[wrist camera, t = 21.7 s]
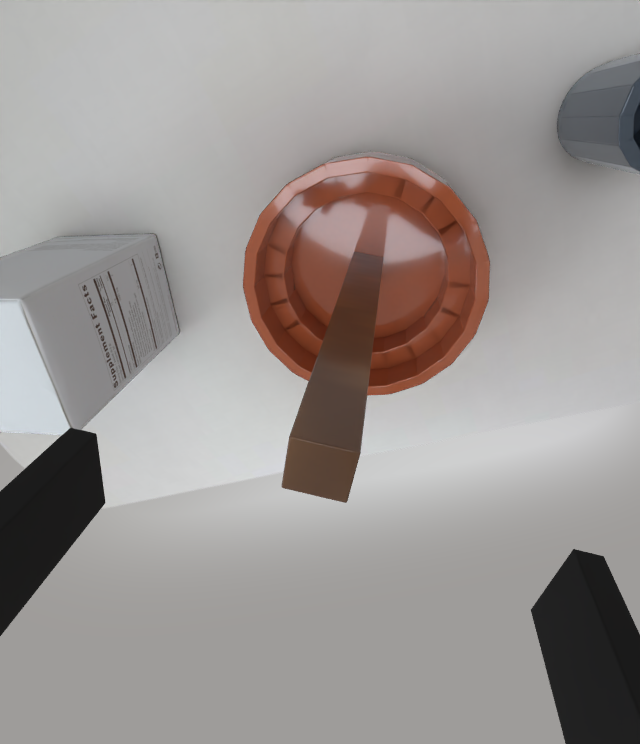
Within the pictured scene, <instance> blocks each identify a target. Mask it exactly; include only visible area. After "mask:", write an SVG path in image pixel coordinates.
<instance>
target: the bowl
mask: <svg viewBox="0 0 640 744" xmlns="http://www.w3.org/2000/svg"><path fill="white" fill-rule="evenodd" d="M354 252H360V253H365V254H370V255H374V256H379V257H383V266H382V274H381V283H380V291H379V300H378V308H377V316H376V325H375V333H374V342H373V350H372V359H371V367H370V375H369V384H368V392H367V395H385V394H393V393H396V392H399V391H402V390H405V389H408V388H411V387H414V386H417V385H420V384H422V383H425V382H426V381H427V380H429V379H430V378H432V377H433V376H435V375H436V374H438V373H439V372H441V371H442V370H444V369H445V368H447V367H448V366H450V365H451V364H452V363H453V362H454V361H455V359H456V358H457V357H458V356H459V354H460V353H461V352H462V351H463V350H464V348H465V347H466V346H467V345H468V343H469V342H470V341H471V340H472V338H473V337H474V335H475V334H476V332H477V329H478V327H479V324H480V321H481V319H482V316H483V314H484V311H485V308H486V306H487V303H488V299H489V274H490V261H489V256H488V253H487V250H486V247H485V244H484V241H483V238H482V235H481V232H480V229H479V226H478V223H477V220H476V219H475V218H474V216H473V215H472V214H471V213H470V211H469V210H468V209H467V207H466V206H465V205H464V204H463V202H462V201H461V200H460V199H459V197H458V196H457V195H456V194H455V192H454V191H453V190H452V189H451V187H450V186H449V185H448V184H447V182H446V181H445V180H444V179H443V178H442V177H441V176H440V175H438V174H436V173H435V172H433V171H431V170H430V169H428V168H426V167H425V166H423V165H421V164H420V163H418V162H416V161H415V160H413V159H411V158H408V157H403V156H398V155H392V154H387V153H382V152H377V151H369V152H363V153H356V154H350V155H344V156H338V157H335V158H333V159H331V160H329V161H327V162H326V163H324V164H322V165H320V166H318V167H316V168H315V169H313V170H311V171H309V172H307V173H306V174H304V175H302V176H300V177H298V178H297V179H295V180H293V181H291V182H289V183H288V184H287V185H286V186H285V187H284V188H283V189H282V190H281V191H280V192H279V194H278V195H277V196H276V197H275V198H274V199H273V200H272V201H271V203H270V204H269V205H268V206H267V207H266V208H265V209H264V210H263V211H262V213H261V215H260V216H259V218H258V221H257V223H256V225H255V228H254V230H253V233H252V235H251V237H250V240H249V242H248V245H247V247H246V251H245V264H244V278H243V289H244V293H245V297H246V301H247V305H248V309H249V313H250V317H251V320H252V323H253V324H254V326H255V328H256V329H257V331H258V333H259V334H260V336H261V338H262V339H263V341H264V343H265V345H266V346H267V348H268V349H269V351H270V352H271V353H273V354H274V355H275V356H276V357H277V358H278V359H279V360H280V361H281V362H282V363H283V364H284V365H285V366H286V367H287V368H288V369H290V370H291V371H292V372H293V373H294V374H296V375H298V376H300V377H302V378H304V379H306V380H308V381H309V379H310V376H311V373H312V371H313V368H314V365H315V362H316V359H317V356H318V353H319V350H320V348H321V345H322V342H323V339H324V336H325V333H326V330H327V328H328V325H329V322H330V319H331V316H332V313H333V310H334V307H335V305H336V302H337V299H338V296H339V293H340V290H341V287H342V285H343V282H344V279H345V276H346V273H347V270H348V267H349V264H350V262H351V259H352V256H353V253H354Z"/></svg>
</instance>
